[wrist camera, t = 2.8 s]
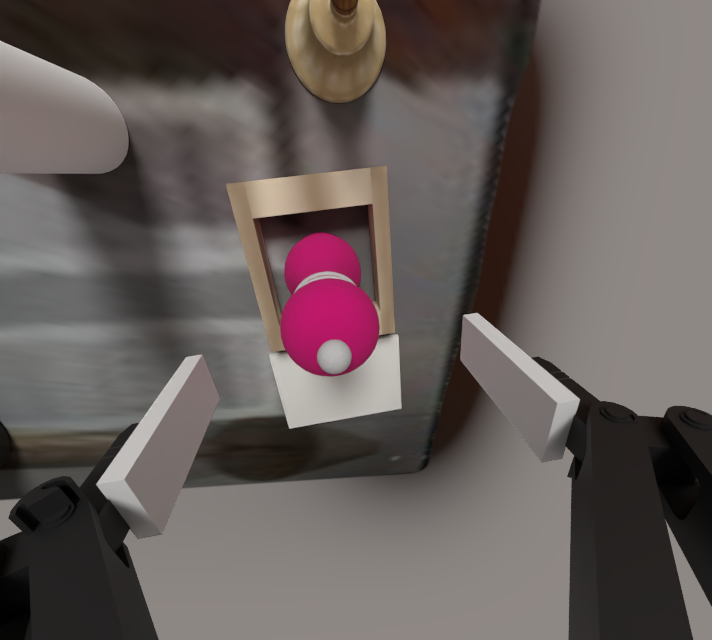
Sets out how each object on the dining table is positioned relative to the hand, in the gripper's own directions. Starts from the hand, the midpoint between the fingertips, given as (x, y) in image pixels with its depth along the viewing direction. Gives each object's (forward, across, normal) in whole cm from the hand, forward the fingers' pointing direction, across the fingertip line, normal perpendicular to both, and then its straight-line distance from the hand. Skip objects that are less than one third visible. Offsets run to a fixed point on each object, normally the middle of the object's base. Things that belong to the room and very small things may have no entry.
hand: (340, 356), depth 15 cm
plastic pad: (+19, 0, +16) cm, 25 cm away
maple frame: (+19, 0, 0) cm, 19 cm away
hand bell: (+20, -4, -18) cm, 27 cm away
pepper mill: (+19, 0, 0) cm, 19 cm away
